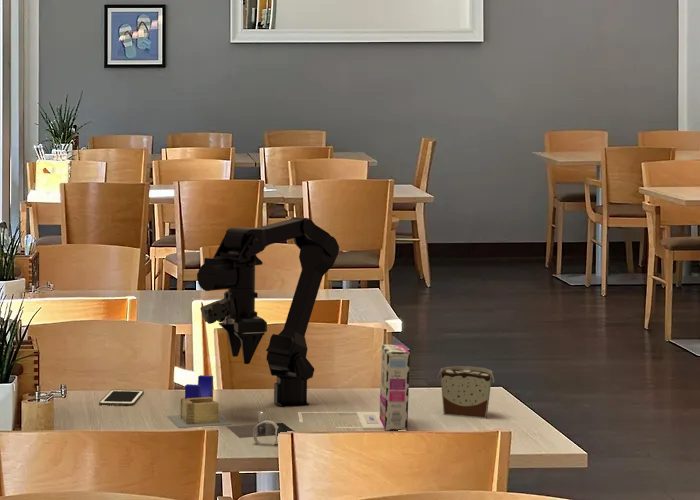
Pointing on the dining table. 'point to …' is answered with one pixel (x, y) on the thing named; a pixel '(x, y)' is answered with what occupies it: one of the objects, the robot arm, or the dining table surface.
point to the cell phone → (122, 397)
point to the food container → (465, 391)
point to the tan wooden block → (199, 410)
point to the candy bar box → (394, 387)
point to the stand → (258, 428)
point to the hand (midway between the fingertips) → (240, 360)
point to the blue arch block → (200, 388)
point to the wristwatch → (266, 422)
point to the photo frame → (365, 418)
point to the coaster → (182, 424)
